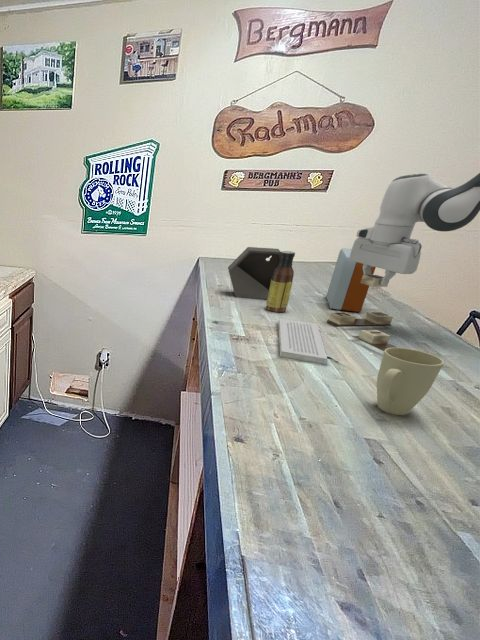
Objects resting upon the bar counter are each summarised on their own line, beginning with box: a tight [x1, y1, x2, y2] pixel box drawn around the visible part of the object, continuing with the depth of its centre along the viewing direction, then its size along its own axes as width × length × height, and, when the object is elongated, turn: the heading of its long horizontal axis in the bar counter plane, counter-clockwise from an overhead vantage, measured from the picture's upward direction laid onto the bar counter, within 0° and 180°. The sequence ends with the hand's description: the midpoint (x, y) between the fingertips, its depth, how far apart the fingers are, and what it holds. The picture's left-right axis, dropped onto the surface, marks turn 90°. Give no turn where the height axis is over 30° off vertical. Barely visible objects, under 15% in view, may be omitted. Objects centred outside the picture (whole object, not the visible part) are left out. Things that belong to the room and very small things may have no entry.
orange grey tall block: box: [326, 247, 377, 313], centre depth 159 cm, size 18×9×21 cm, turn 150°
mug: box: [376, 347, 445, 416], centre depth 91 cm, size 11×10×12 cm
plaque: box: [277, 318, 328, 365], centre depth 129 cm, size 30×2×10 cm
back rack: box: [326, 311, 394, 328], centre depth 142 cm, size 17×6×4 cm, turn 93°
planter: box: [227, 246, 282, 300], centre depth 170 cm, size 17×8×21 cm
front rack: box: [351, 329, 399, 352], centre depth 123 cm, size 6×16×4 cm, turn 3°
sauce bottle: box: [265, 250, 296, 313], centre depth 153 cm, size 6×6×20 cm
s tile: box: [361, 274, 389, 288], centre depth 136 cm, size 5×5×3 cm
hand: (374, 282), depth 136 cm, fingers closed on s tile, 4 cm apart
